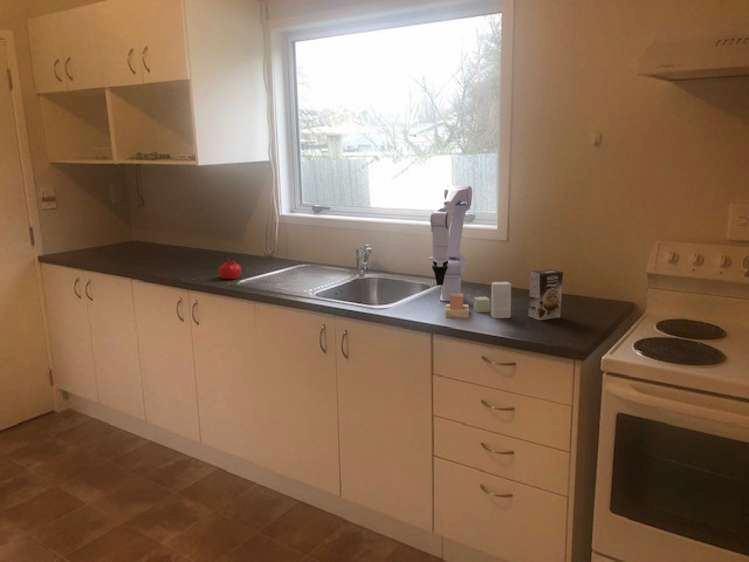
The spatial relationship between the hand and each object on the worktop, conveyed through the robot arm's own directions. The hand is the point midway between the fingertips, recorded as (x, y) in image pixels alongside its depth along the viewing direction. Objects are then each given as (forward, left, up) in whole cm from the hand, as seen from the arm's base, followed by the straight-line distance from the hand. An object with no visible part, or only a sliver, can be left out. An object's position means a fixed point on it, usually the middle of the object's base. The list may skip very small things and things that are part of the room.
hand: (440, 282), depth 222 cm
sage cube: (0, +15, -10) cm, 18 cm away
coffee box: (+7, +36, -10) cm, 38 cm away
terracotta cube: (+6, +6, -7) cm, 11 cm away
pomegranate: (-46, -95, -10) cm, 106 cm away
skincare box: (+8, +21, -10) cm, 25 cm away
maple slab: (+6, +6, -10) cm, 13 cm away
